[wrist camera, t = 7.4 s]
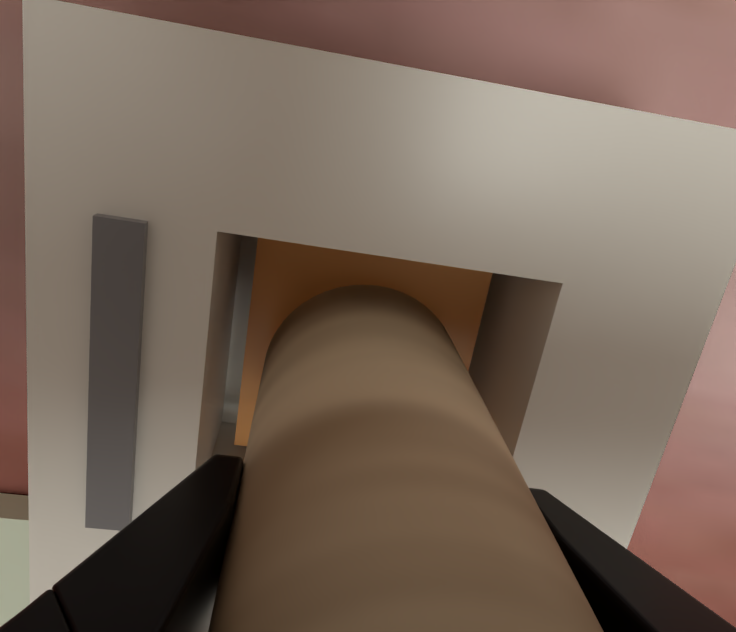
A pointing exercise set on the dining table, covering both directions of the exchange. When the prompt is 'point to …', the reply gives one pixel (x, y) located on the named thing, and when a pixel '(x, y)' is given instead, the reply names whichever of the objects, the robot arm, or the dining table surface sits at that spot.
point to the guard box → (349, 233)
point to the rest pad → (14, 555)
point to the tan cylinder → (384, 489)
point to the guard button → (338, 269)
